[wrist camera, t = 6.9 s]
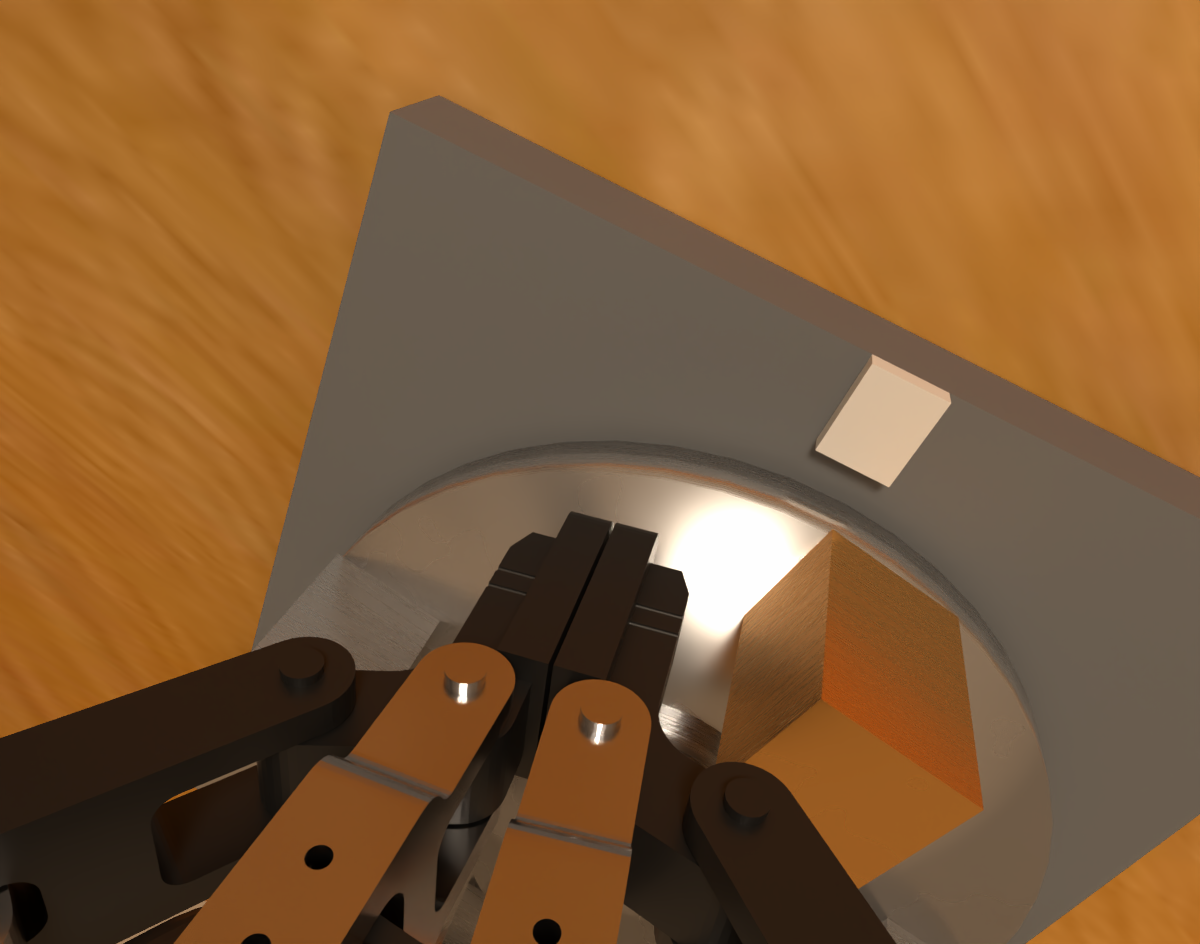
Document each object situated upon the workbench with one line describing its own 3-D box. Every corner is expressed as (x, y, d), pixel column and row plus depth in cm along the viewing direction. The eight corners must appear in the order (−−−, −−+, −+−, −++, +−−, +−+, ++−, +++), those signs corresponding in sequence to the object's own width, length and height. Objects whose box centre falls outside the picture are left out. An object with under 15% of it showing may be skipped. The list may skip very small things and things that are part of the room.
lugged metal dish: (212, 472, 19) (20, 625, 15) (1041, 399, 14) (1118, 600, 10) (435, 954, 26) (348, 1153, 22) (1043, 1023, 21) (1088, 1303, 17)
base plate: (249, 761, 28) (201, 824, 26) (439, 95, 16) (378, 115, 14) (801, 1042, 28) (796, 1128, 26) (1378, 567, 16) (1450, 654, 14)
